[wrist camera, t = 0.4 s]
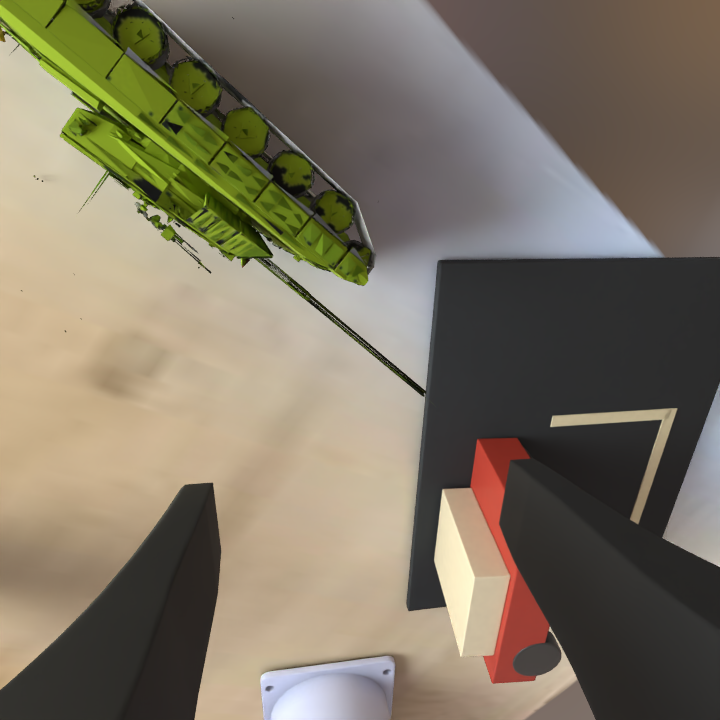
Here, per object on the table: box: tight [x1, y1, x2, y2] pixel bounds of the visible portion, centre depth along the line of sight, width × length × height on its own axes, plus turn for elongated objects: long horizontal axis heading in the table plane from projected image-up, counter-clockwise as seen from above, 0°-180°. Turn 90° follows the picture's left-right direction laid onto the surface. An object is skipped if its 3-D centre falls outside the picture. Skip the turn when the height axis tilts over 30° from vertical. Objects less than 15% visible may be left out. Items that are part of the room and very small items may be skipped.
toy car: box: [434, 438, 561, 684], centre depth 23 cm, size 9×4×6 cm, turn 178°
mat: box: [407, 257, 720, 611], centre depth 25 cm, size 20×15×1 cm
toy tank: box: [0, 0, 427, 399], centre depth 16 cm, size 7×19×10 cm
